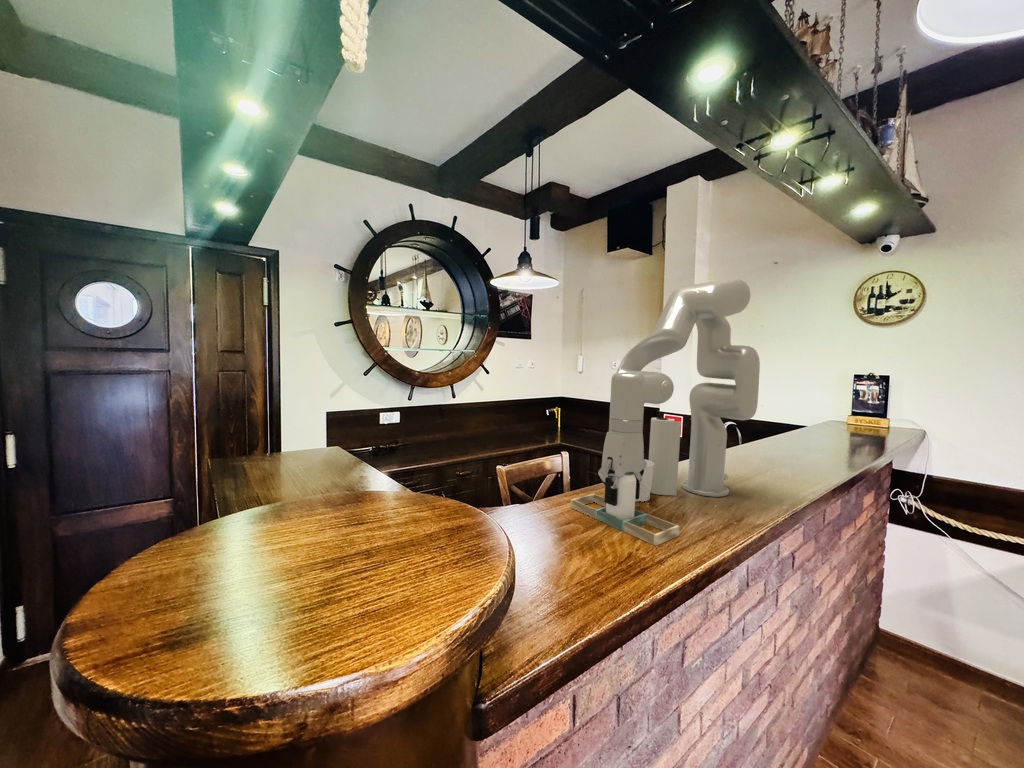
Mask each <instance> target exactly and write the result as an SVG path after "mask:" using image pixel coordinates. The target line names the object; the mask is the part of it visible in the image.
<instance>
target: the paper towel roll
mask: <svg viewBox="0 0 1024 768" xmlns="http://www.w3.org/2000/svg"><path fill="white" fill-rule="evenodd" d="M681 424H682V421H678V420H677V421H676V420H674V419H672V418H669V417H668V418H666V417H651V419H650V429H649V430H650V432H649V446H648V447H649V449H648V460H649V461H651V462H653V463H654V468H653V478H652V486H651V490H650V494H654V495H658V496H659V495H661V496H677V494H678V493H677V492H678V478H679V477H678V476H679V461H680V460H679V459H680V444H681V443H680V442H681V431H682V430H681V429H682V428H681Z"/></svg>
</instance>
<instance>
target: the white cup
mask: <svg viewBox="0 0 1024 768" xmlns="http://www.w3.org/2000/svg"><path fill="white" fill-rule="evenodd" d="M644 460H645V461H646V462H647V465H646V468H645V470H644V474H643V475H642V477H641V478H642V481H641V482H639V483H640V493H639V499H635V502H639V501H641V502H644V501H645V502H648V501H650V498H651V493H650V490H651V486H652V478H653V468H654V463H653V462H651V461H649V459H644ZM641 502H640V503H641Z"/></svg>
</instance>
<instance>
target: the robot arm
mask: <svg viewBox="0 0 1024 768" xmlns="http://www.w3.org/2000/svg"><path fill="white" fill-rule="evenodd" d="M750 300H751V289H750V286H749V285H748V283H747V282H746V281H744V280H742V279H731V280H721V281H710V282H709V281H708V282H702V283H701V282H700V283H695V284H692V285H689V286H683V287H678V288H676V289H675V290H673V291H672V292H671V294H670V295H669V297H668V299H667V301H666V303H665V305H664V307H663V309H662V311H661V314H660V316H659V318H658V320H657V323H656V325H655V327H654V329H653V330H652V332H651V333H650V334H648V335H647V336H646V337H644V338H643V339H642V340H640V341H639V342H638V343H636V344H635V345H634V346H633V347H632V348H631V349H630V350H629V351H628V352H627V353H626V354H625V355H624V357H623V358H622V360H621V362H620V364H619V366H618V369H617V371H616V373H614V374H613V375H612V376H611V381H610V401H609V403H610V405H609V418H608V419H609V421H608V422H609V423H608V424H609V425H608V431H607V432H606V435H605V439H604V444H603V450H602V451H603V452H602V457H601V458H602V459H601V467H600V468H599V470H598V472H597V473H598V476H599V478H600V481H601V482H602V485H603V486H604V497H605V499H604V501H605V503H608V504H610V505H613V506H616V505H617V496H618V489H617V488H616V486H617V483H618V481H619V478H620V477H623V476H624V475H630V474H634V472H635V474H634V475H635V477H636V495H635V499H639V493H640V483H639V482H641V481H642V478H641V477H642V475H643V474H644V470H645V468H646V465H647V462H646V461H645V460H646V459H645V460H644V456H645V452H644V451H645V449H644V448H645V447H644V446H645V445H644V434H643V430H644V411H645V404H652V405H660V404H664V403H666V402H667V401H669V400H670V398H672V396H673V394H674V389H675V385H674V382H673V380H672V379H671V377H669V376H668V375H667V374H665V373H663V372H657V371H644V370H643V369H644V368H645V367H646V366H648V365H649V364H651V363H653V362H655V361H656V360H659V359H661V358H665V357H666V356H669V355H672V354H674V353H677V352H679V351H680V350H681V351H682V349H683V348H685V346H686V345H687V343H688V340H689V338H690V336H691V334H692V331H693V328H694V326H695V325H696V330H697V346H696V347H697V348H696V370H697V372H698V375H700V376H701V377H703V378H709V379H718V380H729V381H730V380H732V381H734V382H735V384H729V383H718V382H702V383H698V384H696V385H694V386H693V387H692V389H691V390H690V392H689V397H688V398H689V399H688V400H689V409H690V414H691V415H690V417H691V422H690V423H691V425H690V442H689V444H690V445H689V454H688V455H689V458H688V459H689V460H688V472H687V473H688V475H687V480H684V481H682V482H681V488H682V489H684V490H685V491H687V492H689V493H693V494H695V495H698V496H703V497H704V496H705V497H716V498H718V497H726V496H728V495H730V489H729V487H727V486H726V485H724V483H725V481H726V480H728V479H729V475H728V474H727V473H725V469H726V455H727V440H728V432H727V428H726V425H725V423H724V421H722V419H723V418H725V419H729V420H730V419H731V420H736V421H737V420H739V421H748V420H750V419H752V418H754V416H755V415H756V412H757V409H758V402H759V388H760V387H759V385H760V371H761V370H760V369H761V368H760V367H761V364H760V356H759V353H758V352H757V350H756V349H755V348H754V347H753V346H749V345H735V344H734V345H732V342H731V339H732V337H731V335H732V329H731V325H730V323H729V321H728V319H727V318H728V317H730V316H733V315H736V314H739V313H742V312H743V311H744V310H745V309H746V308H747V307H748V305H749V303H750ZM726 317H727V318H726ZM721 418H722V419H721ZM612 472H615V474H613V473H612ZM611 477H614V479H613V482H612V481H611V479H610V478H611Z"/></svg>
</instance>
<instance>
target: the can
mask: <svg viewBox="0 0 1024 768" xmlns="http://www.w3.org/2000/svg"><path fill="white" fill-rule="evenodd" d="M612 473H613V474H615V472H612ZM634 474H635V472H634ZM634 474H630V475H624V476H623V477H620V478H619V481H618V483H617V486H616V488H617V489H618V496H617V505H616V506H613V505H610V504H608V503H606V513H607V514H609V515H612V516H614V517H617V518H619V519H621V520H624V521H625V520H627V519H630V518H633V517H634V512H635V509H636V508H635V507H636V501H635V495H636V477H635V475H634ZM610 479H611V481H612V482H613V479H614V477H611V478H610Z"/></svg>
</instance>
